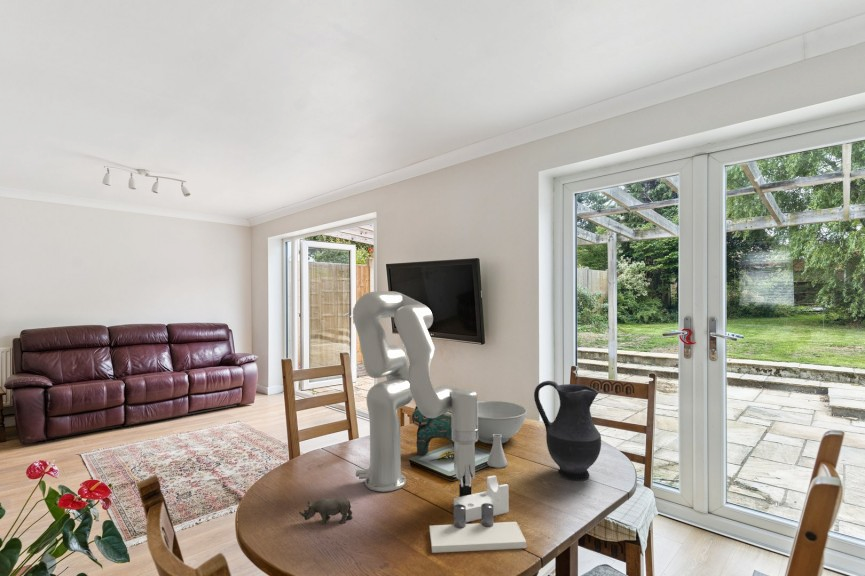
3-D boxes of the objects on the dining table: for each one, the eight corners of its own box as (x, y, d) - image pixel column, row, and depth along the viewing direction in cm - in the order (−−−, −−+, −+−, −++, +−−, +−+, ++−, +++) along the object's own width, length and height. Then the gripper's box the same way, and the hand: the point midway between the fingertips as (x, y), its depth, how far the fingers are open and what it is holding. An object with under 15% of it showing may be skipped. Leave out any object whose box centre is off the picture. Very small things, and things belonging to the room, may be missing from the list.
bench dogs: (454, 534, 110) (454, 510, 110) (453, 528, 113) (452, 504, 113) (494, 533, 110) (494, 508, 110) (492, 526, 113) (492, 502, 113)
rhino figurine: (300, 518, 118) (300, 496, 118) (353, 516, 120) (352, 493, 120) (297, 526, 114) (297, 503, 114) (351, 524, 115) (351, 500, 115)
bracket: (495, 501, 127) (494, 475, 127) (508, 513, 121) (508, 485, 121) (454, 511, 122) (453, 483, 122) (465, 523, 116) (465, 494, 116)
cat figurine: (411, 455, 163) (411, 400, 163) (417, 449, 169) (417, 396, 169) (464, 461, 156) (463, 404, 157) (468, 455, 163) (468, 400, 163)
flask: (507, 469, 150) (507, 439, 150) (486, 467, 151) (485, 438, 151) (508, 461, 157) (508, 432, 157) (487, 459, 158) (487, 431, 158)
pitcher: (602, 489, 134) (601, 389, 134) (532, 480, 141) (531, 385, 141) (600, 467, 150) (599, 378, 150) (537, 460, 157) (536, 375, 157)
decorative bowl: (536, 435, 184) (536, 405, 184) (511, 455, 162) (511, 422, 162) (478, 425, 199) (478, 397, 199) (448, 442, 176) (447, 412, 176)
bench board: (432, 552, 102) (432, 546, 102) (429, 531, 111) (429, 525, 111) (526, 548, 104) (526, 541, 104) (516, 527, 113) (516, 521, 113)
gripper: (448, 426, 133) (449, 488, 133) (454, 443, 118) (455, 512, 118) (473, 425, 134) (474, 487, 134) (482, 442, 119) (483, 511, 119)
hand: (465, 499), depth 126 cm, fingers closed
